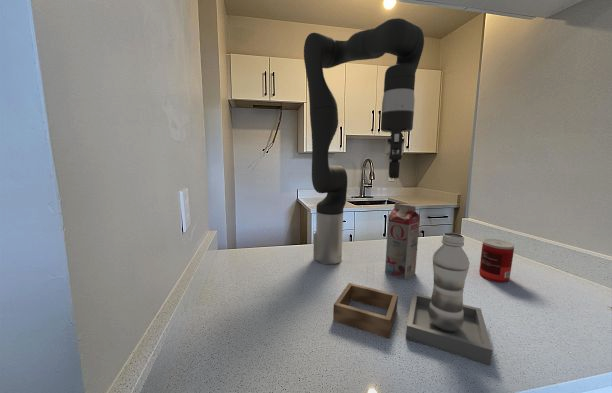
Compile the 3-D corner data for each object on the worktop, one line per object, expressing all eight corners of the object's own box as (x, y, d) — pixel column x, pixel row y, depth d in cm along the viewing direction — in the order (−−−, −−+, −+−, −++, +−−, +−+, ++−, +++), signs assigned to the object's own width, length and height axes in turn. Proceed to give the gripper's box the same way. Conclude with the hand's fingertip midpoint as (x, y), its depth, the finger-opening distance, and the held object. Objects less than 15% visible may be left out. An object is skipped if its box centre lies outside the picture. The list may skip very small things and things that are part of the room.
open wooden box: (333, 320, 57) (333, 304, 56) (348, 297, 66) (349, 282, 66) (389, 338, 51) (390, 320, 51) (396, 310, 61) (398, 294, 60)
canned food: (505, 274, 81) (509, 240, 79) (513, 285, 74) (518, 249, 72) (476, 269, 84) (480, 237, 82) (481, 279, 77) (485, 244, 75)
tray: (405, 339, 51) (406, 325, 51) (412, 304, 64) (413, 292, 63) (490, 365, 45) (492, 350, 44) (479, 320, 57) (480, 308, 57)
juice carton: (404, 279, 76) (410, 207, 73) (384, 272, 81) (389, 204, 78) (415, 273, 80) (420, 204, 77) (395, 266, 85) (400, 201, 82)
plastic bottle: (468, 338, 50) (479, 241, 47) (431, 333, 52) (440, 238, 49) (456, 318, 57) (465, 231, 54) (423, 314, 58) (431, 229, 55)
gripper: (417, 105, 55) (411, 180, 58) (411, 115, 69) (406, 175, 71) (381, 106, 57) (377, 178, 60) (382, 116, 71) (378, 174, 73)
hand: (393, 177), depth 65 cm, fingers open, 8 cm apart
